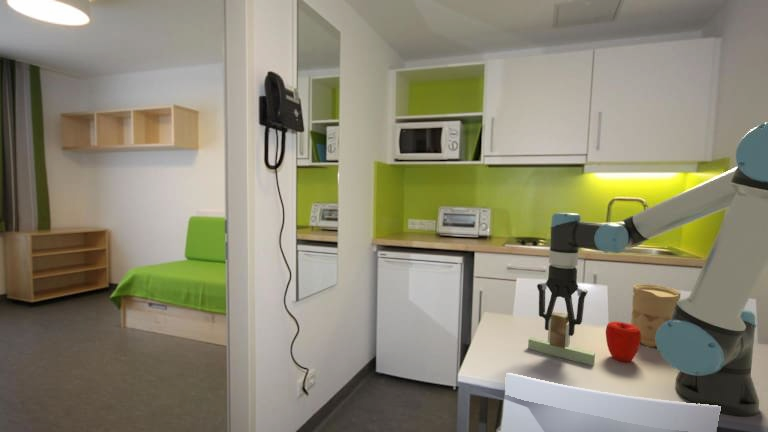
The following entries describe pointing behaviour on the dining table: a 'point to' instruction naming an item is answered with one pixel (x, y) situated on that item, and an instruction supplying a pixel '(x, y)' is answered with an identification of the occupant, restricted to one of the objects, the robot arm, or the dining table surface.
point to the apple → (623, 340)
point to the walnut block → (558, 329)
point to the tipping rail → (562, 351)
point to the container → (652, 309)
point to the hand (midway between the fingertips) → (558, 343)
